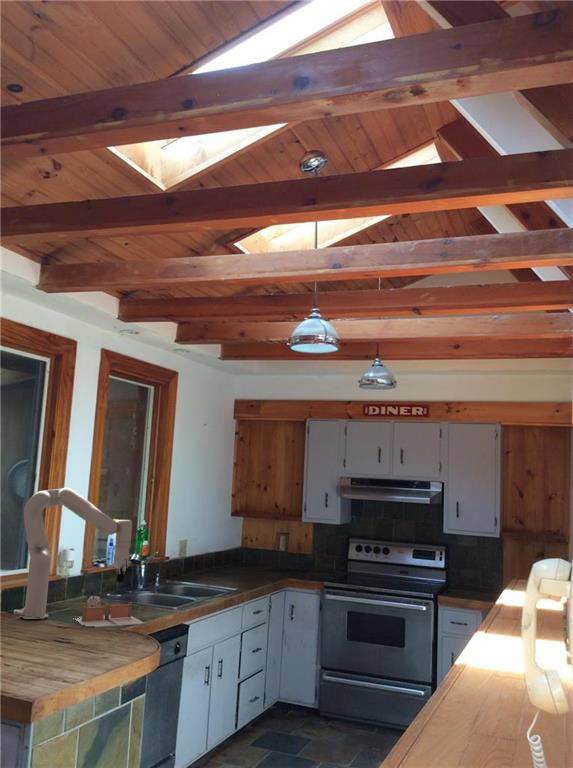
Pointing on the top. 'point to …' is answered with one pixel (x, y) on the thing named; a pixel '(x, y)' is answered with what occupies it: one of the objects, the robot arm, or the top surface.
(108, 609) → the fence fixed
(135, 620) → the card
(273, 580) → the top surface
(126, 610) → the fence panel
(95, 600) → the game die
